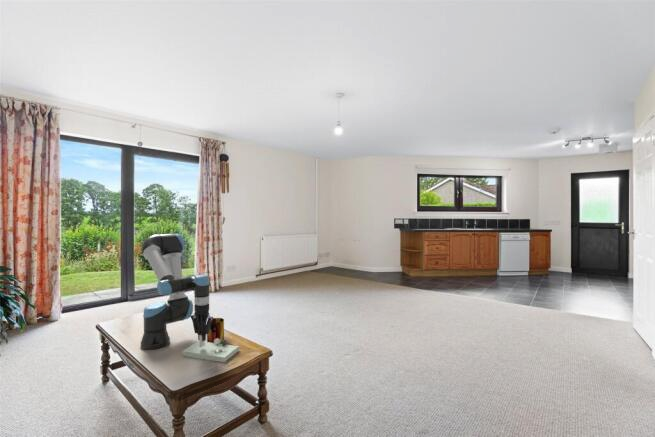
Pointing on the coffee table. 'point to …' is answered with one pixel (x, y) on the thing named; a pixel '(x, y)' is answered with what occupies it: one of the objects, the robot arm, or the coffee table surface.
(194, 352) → the board
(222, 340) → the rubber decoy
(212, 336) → the mug
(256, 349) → the coffee table surface
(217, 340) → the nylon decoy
